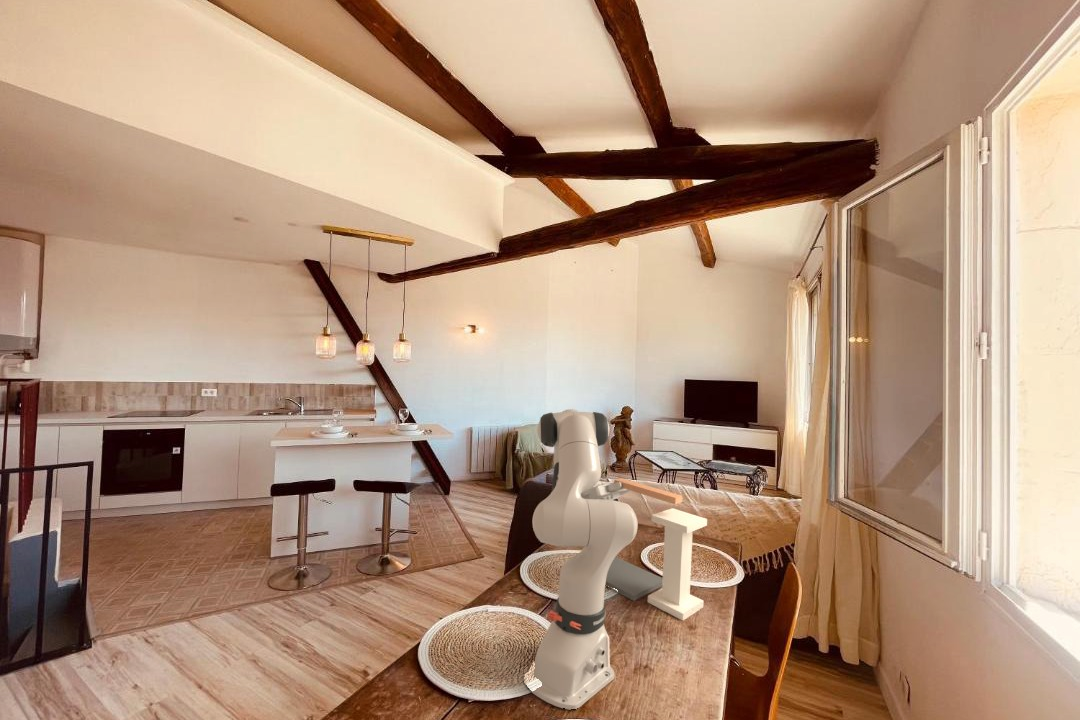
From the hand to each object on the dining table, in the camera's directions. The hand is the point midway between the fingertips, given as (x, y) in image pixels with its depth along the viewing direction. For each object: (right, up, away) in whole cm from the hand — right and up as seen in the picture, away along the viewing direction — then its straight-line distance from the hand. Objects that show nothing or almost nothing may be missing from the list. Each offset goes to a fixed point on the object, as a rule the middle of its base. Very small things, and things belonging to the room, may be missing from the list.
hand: (626, 483), depth 148 cm
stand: (+12, -33, -16) cm, 39 cm away
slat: (+5, -2, -6) cm, 8 cm away
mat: (-3, -33, 0) cm, 33 cm away
